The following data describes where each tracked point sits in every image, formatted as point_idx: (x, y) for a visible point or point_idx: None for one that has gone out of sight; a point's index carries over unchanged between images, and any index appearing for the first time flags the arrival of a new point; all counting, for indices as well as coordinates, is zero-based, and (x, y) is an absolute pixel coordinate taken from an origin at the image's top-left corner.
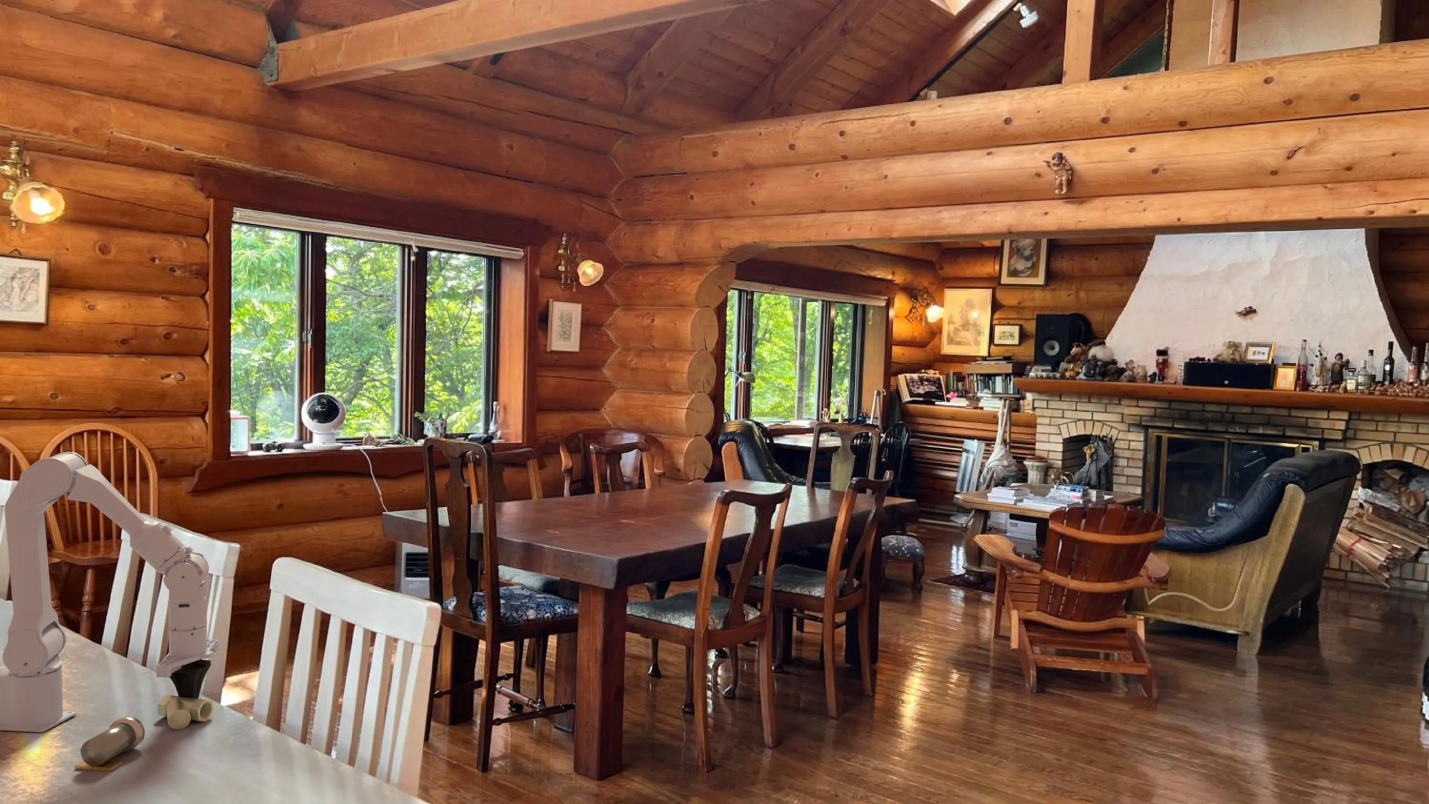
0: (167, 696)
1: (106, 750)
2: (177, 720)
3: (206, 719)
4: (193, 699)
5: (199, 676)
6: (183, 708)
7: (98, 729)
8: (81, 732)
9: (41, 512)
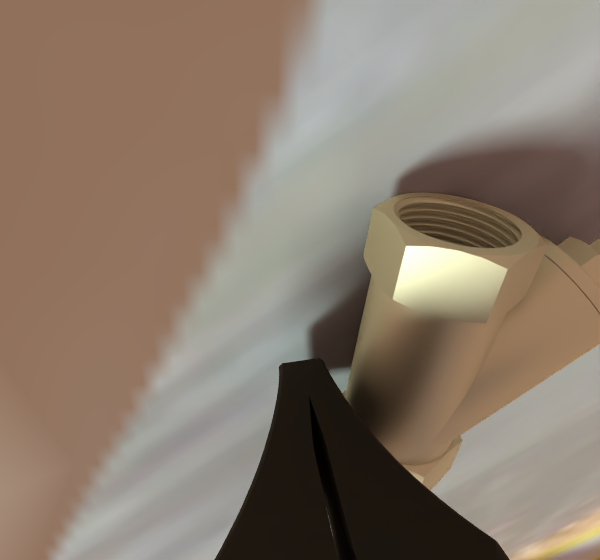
0: (425, 484)
1: None
2: None
3: (429, 194)
4: (459, 348)
5: (356, 512)
6: (577, 314)
7: (516, 491)
8: (538, 508)
9: None
